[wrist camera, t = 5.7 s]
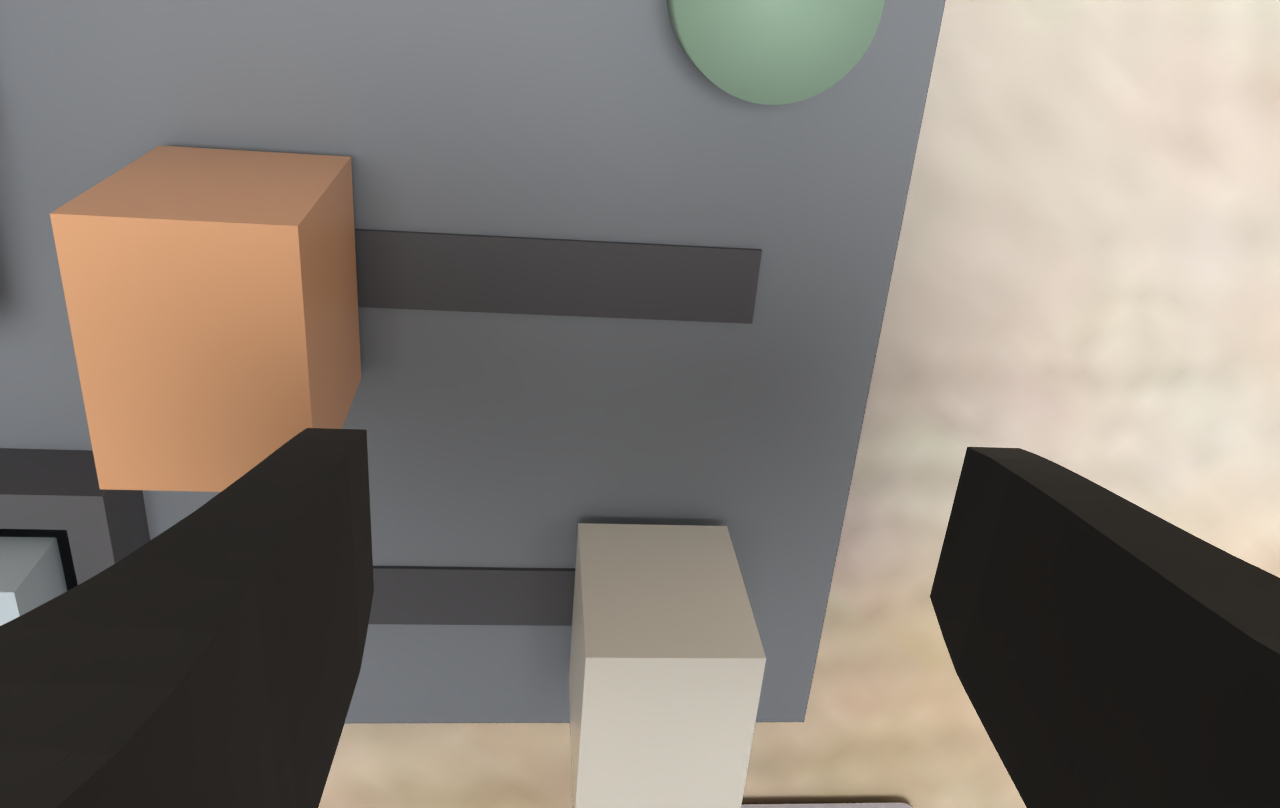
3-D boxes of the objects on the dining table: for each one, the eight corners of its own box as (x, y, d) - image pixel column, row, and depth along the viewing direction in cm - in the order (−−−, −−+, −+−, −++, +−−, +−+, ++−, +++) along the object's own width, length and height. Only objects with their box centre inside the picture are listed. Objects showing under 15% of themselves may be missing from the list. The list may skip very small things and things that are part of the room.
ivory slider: (705, 680, 22) (737, 830, 18) (569, 680, 22) (573, 832, 18) (727, 525, 20) (765, 658, 17) (578, 523, 20) (585, 657, 16)
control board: (789, 677, 25) (822, 778, 22) (-100, 675, 22) (-195, 788, 19) (944, -165, 17) (1027, -180, 14) (-402, -299, 14) (-635, -349, 12)
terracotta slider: (361, 378, 18) (317, 494, 15) (188, 373, 18) (99, 489, 14) (350, 156, 16) (298, 226, 13) (159, 144, 16) (49, 213, 13)
